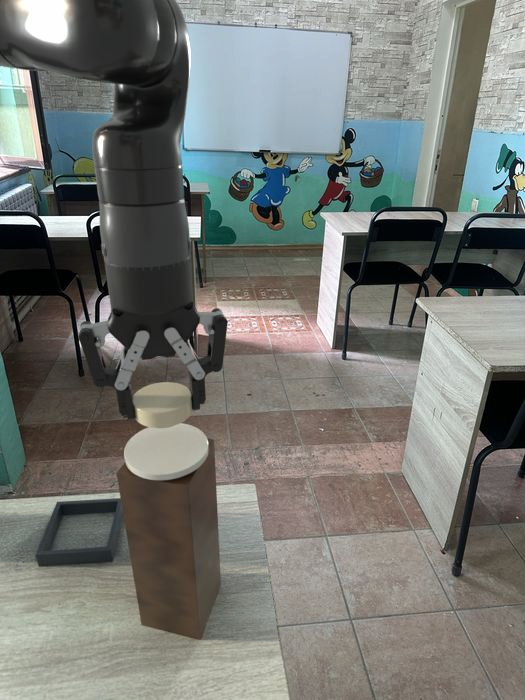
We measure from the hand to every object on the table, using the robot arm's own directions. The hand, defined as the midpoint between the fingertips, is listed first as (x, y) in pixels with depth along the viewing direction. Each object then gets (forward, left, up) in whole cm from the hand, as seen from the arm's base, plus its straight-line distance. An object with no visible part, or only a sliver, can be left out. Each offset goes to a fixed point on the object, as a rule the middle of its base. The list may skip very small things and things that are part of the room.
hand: (163, 410), depth 50 cm
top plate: (0, 0, -1) cm, 1 cm away
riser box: (0, 0, -32) cm, 32 cm away
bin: (-19, +7, -32) cm, 38 cm away
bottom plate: (0, 0, -6) cm, 6 cm away
